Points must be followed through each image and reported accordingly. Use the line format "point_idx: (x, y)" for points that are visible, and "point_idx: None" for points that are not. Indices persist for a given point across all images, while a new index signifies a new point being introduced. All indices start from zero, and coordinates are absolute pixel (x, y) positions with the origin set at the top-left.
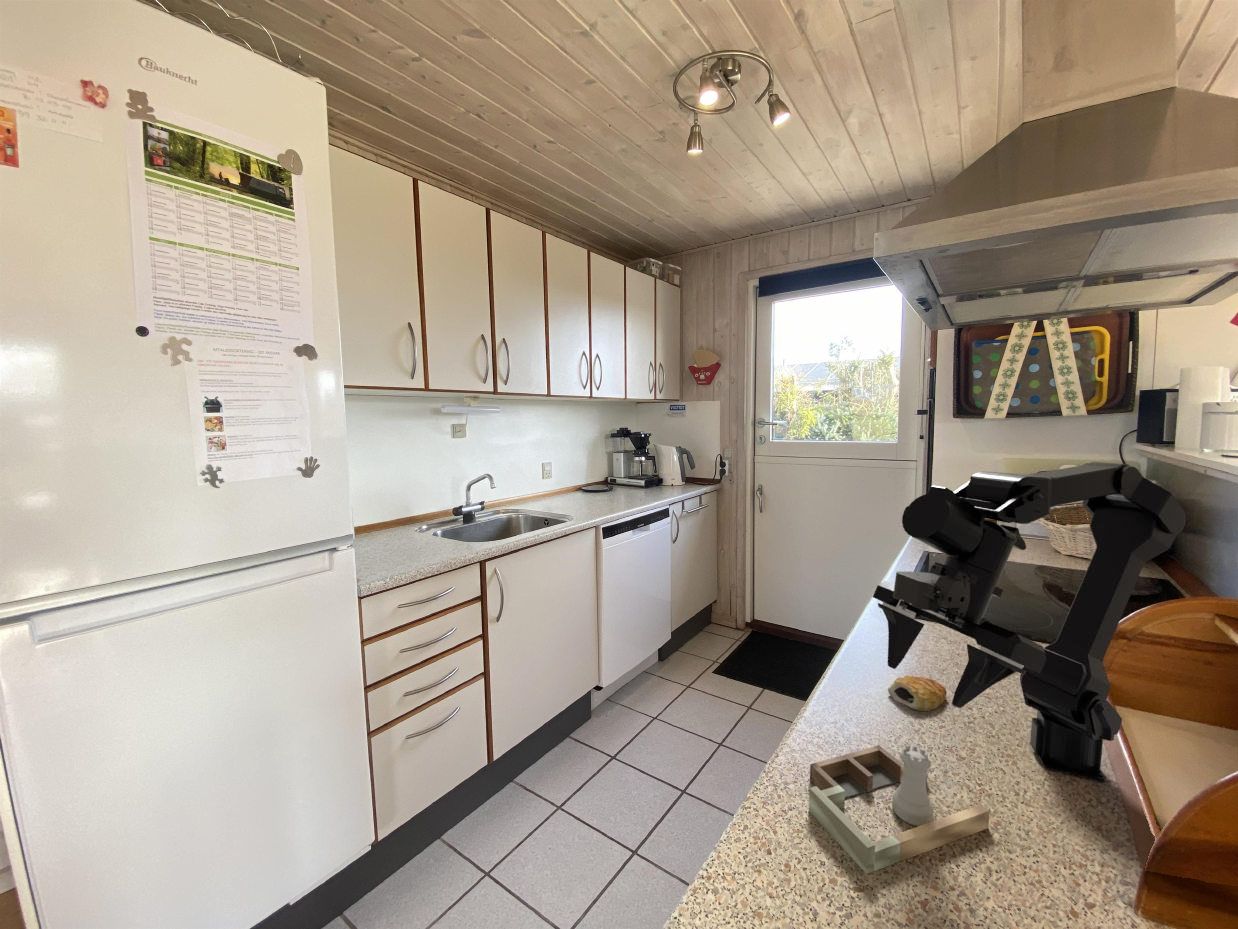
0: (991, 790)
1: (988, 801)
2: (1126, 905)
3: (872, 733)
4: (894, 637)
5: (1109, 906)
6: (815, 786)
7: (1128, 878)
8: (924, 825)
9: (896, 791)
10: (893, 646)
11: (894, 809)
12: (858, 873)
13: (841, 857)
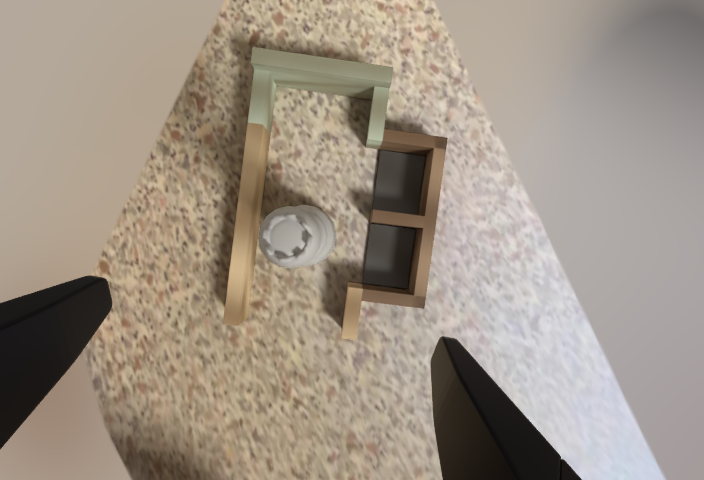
0: (279, 406)
1: (267, 375)
2: None
3: None
4: (527, 477)
5: None
6: (390, 80)
7: (97, 396)
8: (252, 191)
9: (326, 225)
10: (486, 415)
11: (319, 209)
12: None
13: None
